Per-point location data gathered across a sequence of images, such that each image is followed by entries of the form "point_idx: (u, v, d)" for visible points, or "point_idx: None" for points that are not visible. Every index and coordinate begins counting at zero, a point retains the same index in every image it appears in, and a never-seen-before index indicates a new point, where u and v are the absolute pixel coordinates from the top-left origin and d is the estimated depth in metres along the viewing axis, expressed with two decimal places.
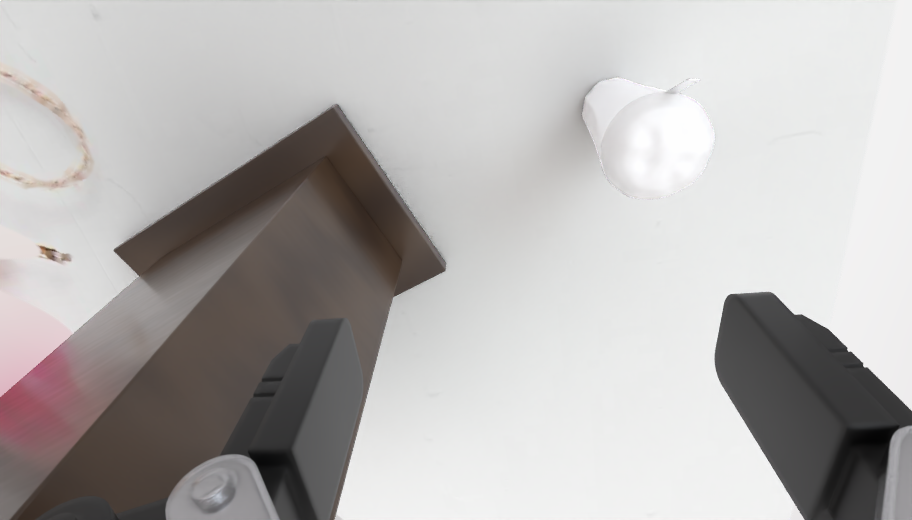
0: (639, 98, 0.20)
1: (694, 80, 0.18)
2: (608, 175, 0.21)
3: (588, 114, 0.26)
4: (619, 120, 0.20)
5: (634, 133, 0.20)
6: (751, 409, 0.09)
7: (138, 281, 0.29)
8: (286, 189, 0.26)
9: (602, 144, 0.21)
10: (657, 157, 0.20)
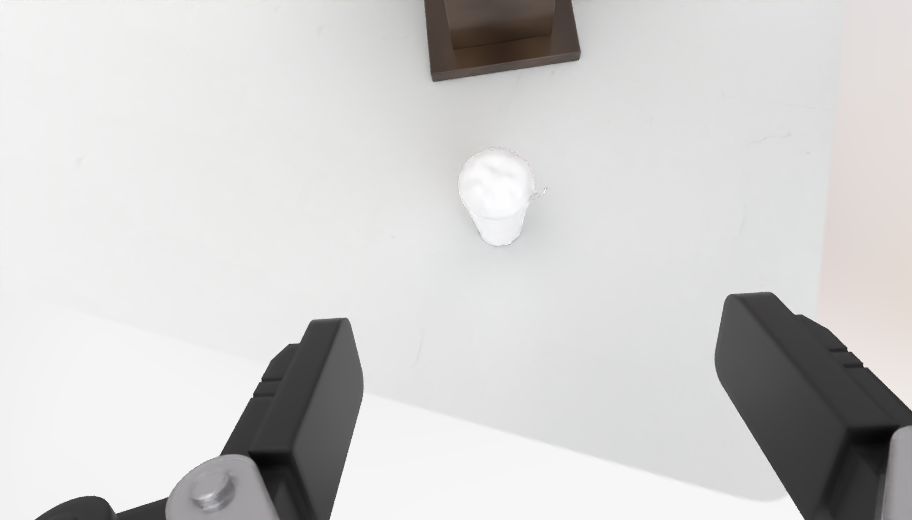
0: (534, 180, 0.30)
1: (544, 191, 0.27)
2: (492, 147, 0.30)
3: None
4: (526, 163, 0.30)
5: (517, 164, 0.29)
6: (751, 409, 0.09)
7: None
8: None
9: (513, 152, 0.30)
10: (495, 172, 0.29)
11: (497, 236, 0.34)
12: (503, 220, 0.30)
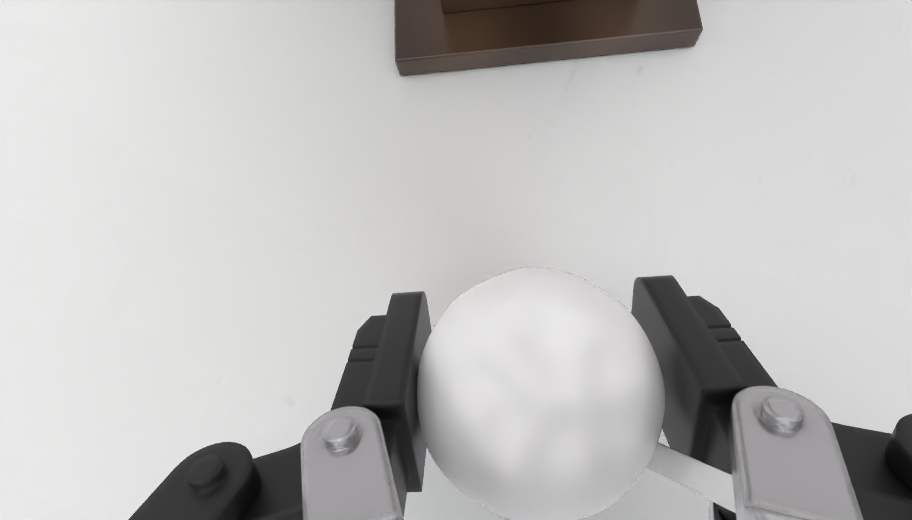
0: None
1: None
2: (530, 269, 0.10)
3: None
4: (639, 331, 0.09)
5: (616, 342, 0.09)
6: None
7: None
8: None
9: (595, 286, 0.10)
10: (543, 371, 0.08)
11: None
12: None
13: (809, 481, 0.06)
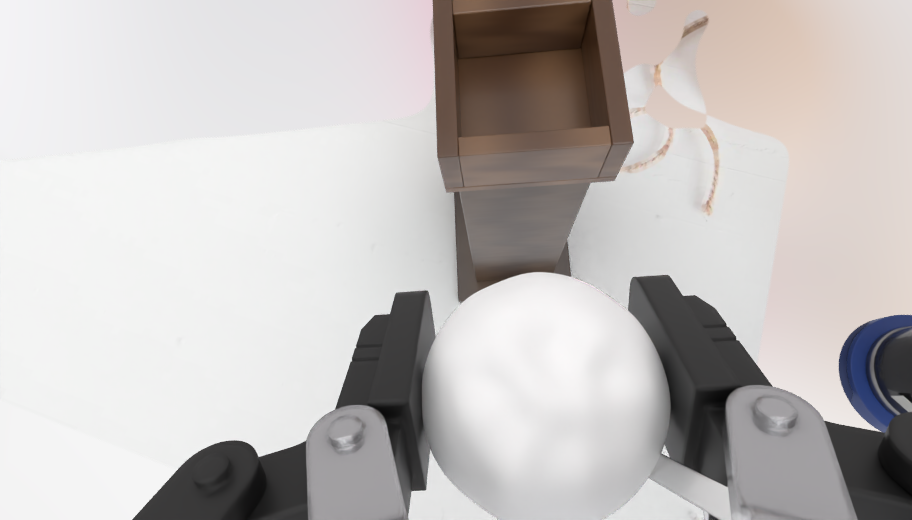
0: None
1: None
2: (539, 274, 0.10)
3: None
4: (647, 340, 0.09)
5: (622, 351, 0.09)
6: None
7: None
8: None
9: (604, 293, 0.10)
10: (547, 377, 0.08)
11: None
12: None
13: (802, 480, 0.06)
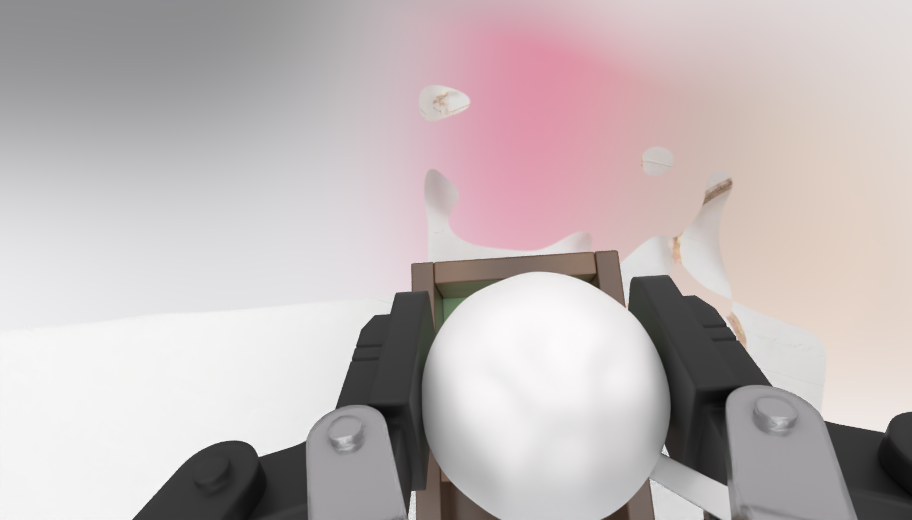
0: None
1: None
2: (539, 273, 0.10)
3: None
4: (647, 340, 0.09)
5: (622, 351, 0.09)
6: None
7: None
8: None
9: None
10: (547, 376, 0.08)
11: None
12: None
13: (803, 480, 0.06)
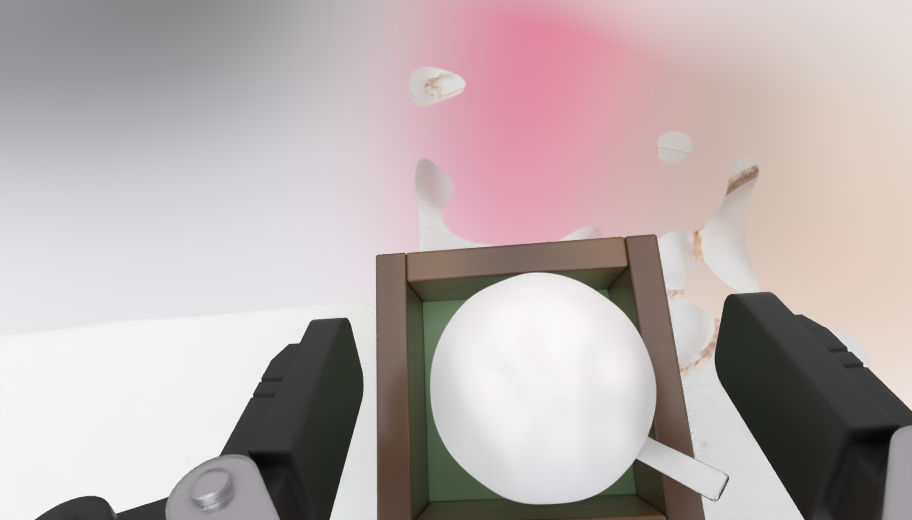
0: None
1: (718, 489, 0.08)
2: (538, 274, 0.11)
3: None
4: (635, 335, 0.10)
5: (612, 344, 0.10)
6: (751, 409, 0.09)
7: None
8: None
9: None
10: (545, 367, 0.09)
11: None
12: None
13: None
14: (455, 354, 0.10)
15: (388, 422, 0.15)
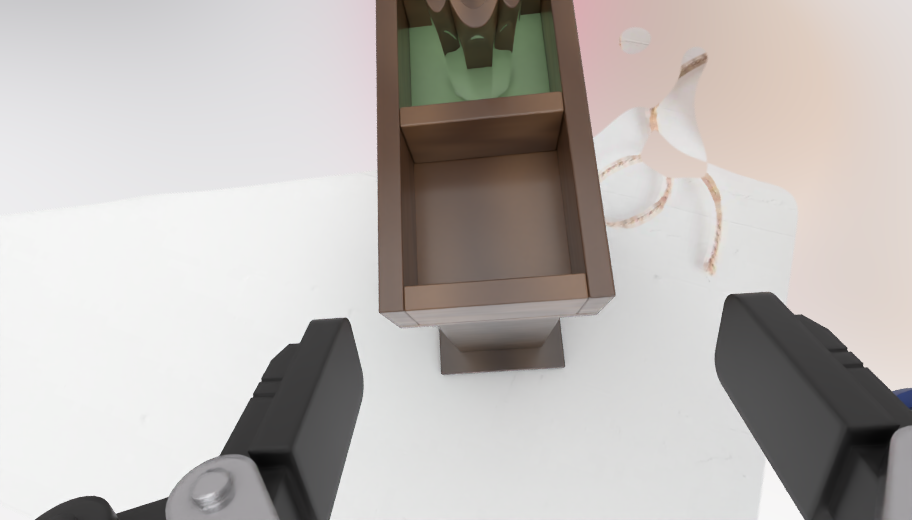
0: None
1: None
2: None
3: None
4: None
5: None
6: (751, 409, 0.09)
7: None
8: None
9: None
10: None
11: (471, 66, 0.22)
12: None
13: None
14: None
15: (384, 54, 0.23)
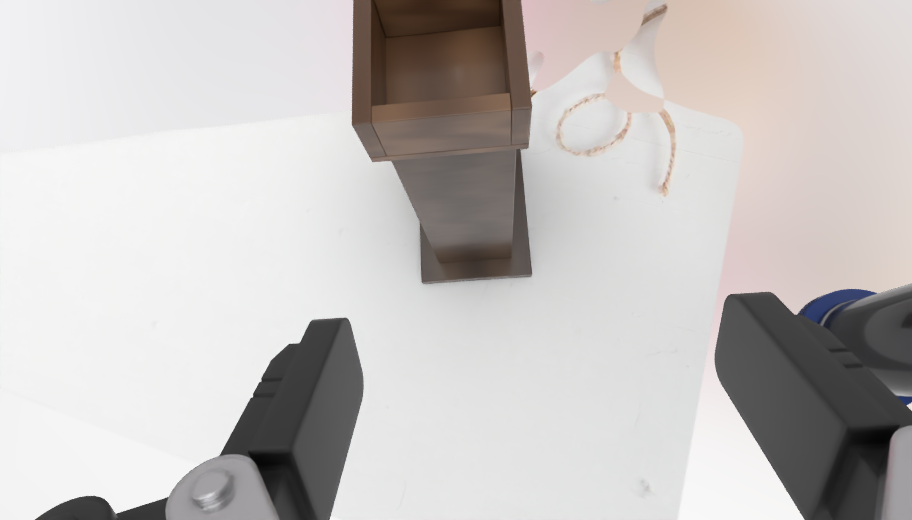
0: None
1: None
2: None
3: None
4: None
5: None
6: (751, 409, 0.09)
7: None
8: None
9: None
10: None
11: None
12: None
13: None
14: None
15: None
